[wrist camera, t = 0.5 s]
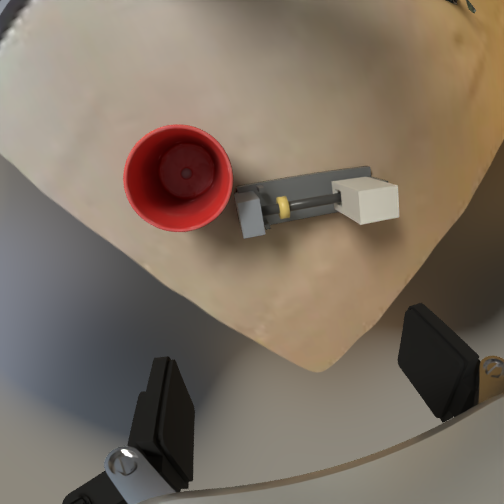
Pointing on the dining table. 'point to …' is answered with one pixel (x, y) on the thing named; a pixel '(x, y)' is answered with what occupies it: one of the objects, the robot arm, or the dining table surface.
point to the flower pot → (178, 178)
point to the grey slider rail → (290, 198)
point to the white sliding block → (367, 199)
